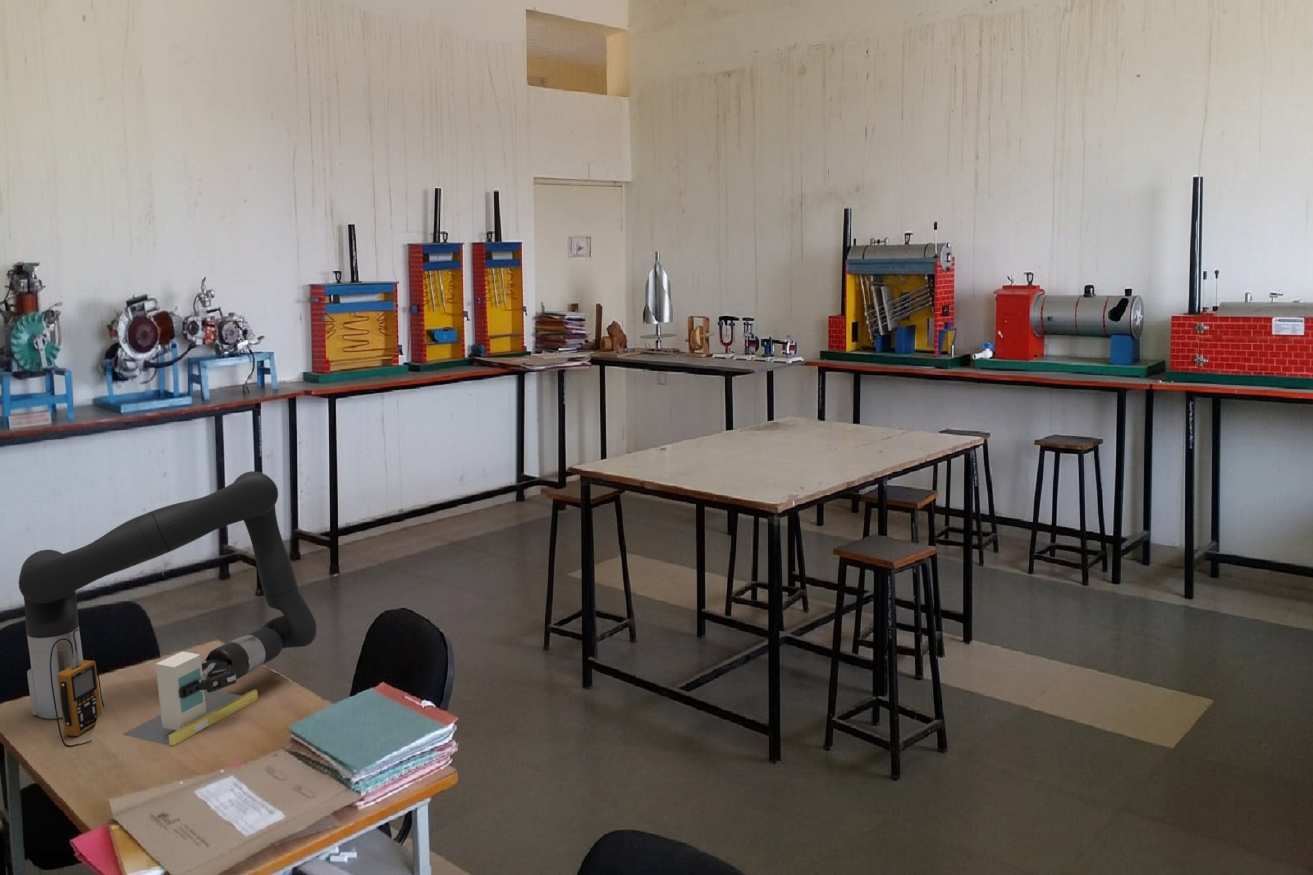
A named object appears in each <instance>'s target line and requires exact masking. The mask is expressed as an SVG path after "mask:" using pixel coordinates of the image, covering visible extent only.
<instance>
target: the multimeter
mask: <svg viewBox="0 0 1313 875" xmlns="http://www.w3.org/2000/svg"><path fill="white" fill-rule="evenodd" d="M78 630H79V631H83V632H85V633H86V634H87V635H88V637H89V640H90V651H91V658H92V660H88V659H87V660H86V659H83V660H82V661H79V658H78V651H77V645H76V640H75V632H76V631H78ZM73 637H74V642H75V649H76V662H75V659H74V653H73V647H72V643H71V642H70V641H69V640H68V639H60V640H67V641H68V642H69V643H70V644H71V649H72V666H71V667H69V668H67V669H65V670H63V671H61V672H59V673H58V675H57V677H58V685H59V693H60V701H61V708H62V716H63V717H62V721H63V722H62V723H63V728H64V735H66V736H72V737H80V736H82V734H83V733H85V732H86V731H88V730H89V729H91V728H92V727H94V726H96V725H97V721H98V718H99V717H100V716H102V709H101V708H102V707H104V708H105V704H104V701H103V695H102V688H101V687H102V686H101V682H100V676H99V675H100V674H99V672H98V670H97V666H96V665H97V664H96V661H95V656H94V650H93V642H92V637H91V634H90V633H89V631H87V629H83V628H79V629H77V630H75V631H74V633H73ZM60 640H58V641H60ZM58 641H56V642H55V643H54V645H53V647H52V649H51V654H50V677H51V686H52V693H53V699H54V706H55V712H56V717H57V718H56V721H57V728H58V731H59V736H60V740H61V743H62V744H63V745H64V746H65V747H68V748H70V747H71V748H72V747H76V746H78V745H83V744H84V745H85V744H87V743H90V742H92V741H93V738H89V739H86V740H83V741H80V742H78V743H75V744H72V745H71V744H70V745H69V744H67V743H65V740H64V739H63V738H64V737H63V734H62V730H61V727H60V721H59V718H58V714H57V708H56V702H55V696H54V689H53V681H52V668H51V661H52V652H53V648H54V646H55V644H56V643H57V642H58ZM100 699H101V700H100ZM101 705H102V707H101Z"/></svg>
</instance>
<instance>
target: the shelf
mask: <svg viewBox="0 0 1313 875" xmlns="http://www.w3.org/2000/svg"><path fill="white" fill-rule="evenodd" d="M204 693H205V703H206V713H207V715H205V716H203V717H202V718H200V719H198V720H196V721H194V722H192V723H190V724H189V725H187V726H185V727H183V728H181V729H179V730H172V729H168V728H163V727H162V719H161V714H159V715H157V716H155V717H152V718H151V719H150V720H147V721H145V722H144V723H141V724H140V725H137V726H136V727H133V728H131V729H130V730H128V731H126V732H124V733H122V736H127V737H131V738H135V739H140V740H145V741H148V742H153V743H158V744H162V745H165V746H166V745H167V746H171V747H175V746H176V745H178V744H179V743H182V742H183V741H185V740H187V739H188V738H191V737H192V736H194V735H196V734H197V733H199V732H202V731H203V730H205V729H206V728H208V727H210V726H212V725H215V724H216V723H218V722H219V721H222V720H223V719H226V717H227V718H228V716H230V715H232V714H234V713H235V712H238V711H239V710H241V709H243V708H245V707H246V706H248V705H250V704H253V702H256V701H257V700H259V697H258V696H259V695H258V689H252V690H251V691H248V692H246V693H245V694H243V695H239V694H235V693H229V692H225V691H224V692H223V691H221V690H216V691H213V692H207V690H205V691H204Z"/></svg>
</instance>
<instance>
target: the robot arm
mask: <svg viewBox="0 0 1313 875" xmlns="http://www.w3.org/2000/svg"><path fill="white" fill-rule="evenodd" d="M278 498H279V490H278V487H277V485H276V483H275V481H274V480H273V479H272V478H270V477H269V476H268V475H267V474H265V473H263V472H261V471H247V472H244V473H242V474H240V475H239V476H238V477H236V479H235V480H234V482H233V483H230V484H229V485H227V486H225V487H223V488H221V489H219V490H216V491H214V492H212V493H210V494H207V495H205V496H202V497H199V498H196V499H191V500H186V501H182V502H178V503H174V504H169V505H166V506H163V507H160V508H157V509H154V510H151V511H149V512H145V513H144V514H140V515H138V516H136V517H134V518H131V519H129V520H127V521H125V522H124V523H122V524H120V525H118V526H116V527H115V528H113V529H111V530H110V531H108V532H107V533H105V534H104V535H102V536H101V537H98V539H96V540H94V541H93V542H91V543H89V544H86V545H85V546H82V547H79V548H77V549H73V550H70V551H68V552H64V553H62V552H60V551H58V550H54V549H41V550H39V551H36V552H34V553H31V554H30V556H28V557H27V558H26V559H25V561H24V562H23V563H22V566H21V569H20V573H19V577H18V589H19V591H20V594H21V595H22V596H23V602H24V603H23V604H24V613H25V614H24V615H25V616H24V617H25V623H24V624H25V630H26V631H25V632H26V636H27V637H26V638H27V644H28V652H29V659H30V667H31V668H30V669H28V670H27V671H26V672H27V674H26V675H27V684H28V691H29V698H30V704H31V705H30V707H31V713H32V716H37V717H39V718H41V719H45V720H46V719H48V720H49V719H51V720H52V719H53V720H54V719H57V717H56V712H55V706H54V699H53V693H52V686H51V677H50V654H51V649H52V647H53V645H54V643H55V642H56V641H58V640H60V639H68V640H69V641H70V642H71V643H72V647H73V653H74V659H75V662H76V649H75V642H74V637H73V633H74V631H75V630H77V629H80V626H79V613H78V601H77V600H78V599H77V593H76V591H78V590H80V589H82V588H84V587H86V586H87V585H89V584H91V583H94V582H95V581H98V580H100V579H102V578H104V577H107V576H109V575H112V574H115V573H119V572H121V571H124V570H127V569H130V568H132V567H135V566H136V565H139V564H143V563H145V562H148V561H150V560H154V559H155V558H158V557H160V556H163V555H165V554H168V553H170V552H172V551H175V550H177V549H180V548H182V547H184V546H186V545H188V544H191V543H193V542H195V541H196V540H199V539H200V538H202V537H204V536H206V535H208V534H210V533H212V532H214V531H216V530H218V529H220V528H223V527H227V526H229V525H230V526H231V525H233V524H236V523H238V522H242V521H243V522H244V525H245V527H246V530H247V532H248V535H249V539H250V541H251V542H250V543H251V545H252V550H253V555H254V560H255V564H256V567H257V572H258V575H259V582H260V584H261V588H262V591H263V596H264V598H265V601H266V604H267V605H268V607H269V608H271V609H275V610H278V611H280V612H281V613H282V615H281V616H277V617H275V618H273V619H271V620H268V621H267V622H266V623H265V624H263V625H262V626H261V627H260V628H259V629H257V630H254V631H252V632H251V633H248V634H245V635H243V636H239V637H238V638H235V639H233V640H230V641H229V642H225V643H224V644H222V645H220V646H218V647H216V648H213V649H212V650H210V651H209V652H208V654H207V656H206V657H205V660H201V663H202V673H203V675H202V676H201V677H200V678H198V679H197V682H196V681H192V682H190V683H188V684H186V685H184V686H182V687H181V688H180V689H179V697H180V698H183V699H184V698H186V697H188V696H190V695H192V694H194V693H196V692H203V691H204V692H206V691H207V692H213V691H220V690H221V689H224V688H226V687H227V688H228V687H229V686H233V685H234V684H236V683H237V680H238V679H240V678H242V677H244V676H246V675H247V674H249V673H250V674H251V673H252V672H253V671H255V670H257V669H258V668H259V667H261V666H262V665H265V664H266V663H268V662H270V661H272V660H273V659H275V658H277V657H278V656H279V655H280V653H281V651H282V650H283V649H290V648H300V647H302V648H303V647H306V646H309V645H311V644H312V643H313V642H314V640H315V638H316V635H317V631H318V630H317V623H316V619H315V616H314V615H313V613H312V611H311V610H310V608H309V606H308V605H307V603H306V601H305V599H304V598H303V596H302V595H301V593H300V590H299V587H298V583H297V580H296V575H295V573H294V572H295V571H294V569H293V566H292V565H293V564H292V562H291V560H290V557H289V554H288V552H287V549H286V546H285V544H284V541H283V538H282V534H281V532H280V527H279V524H278V518H277V510H276V503H277V501H278ZM80 632H81V630H78V631H76V632H75V640H76V645H77V651H78V658H79V661H82V660H84V656H83V650H82V649H83V648H82V640H81V634H80ZM71 666H72V649H71V644H70V643H69V642H68V641H67V640H60V641H58V642H57V643H56V644H55V646H54V648H53V652H52V661H51V668H52V681H53V689H54V696H55V702H56V708H57V714H58V719H60V718H61V719H63V716H62V708H61V701H60V693H59V685H58V677H57V675H58V673H59V672H61V671H63V670H65V669H67V668H69V667H71Z"/></svg>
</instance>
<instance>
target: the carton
mask: <svg viewBox="0 0 1313 875" xmlns="http://www.w3.org/2000/svg"><path fill="white" fill-rule="evenodd" d="M201 662H202V655H201V654H197V653H193V652H187V651H182V650H181V651H180V652H178V653H176V654H173V655H172V656H170V657H167V658H165V659H163V660H160V661H159V662H156V663H155V671H156V680H157V688H158V689H157V690H158V699H159V708H160V715H161V719H162V727H163V728H168V729H172V730H179V729H181V728H183V727H185V726H187V725H189V724H190V723H192V722H194V721H196V720H198V719H200V718H202V717H203V716H205V715H207V713H206V703H205V693H204V692H205V691H203V692H196V693H194V694H192V695H190V696H188V697H186V698H184V699H183V698H180V697H179V689H180V688H181V687H182V686H184V685H186V684H188V683H190V682H192V681H196V682H197V679H198V678H200V677H201V676H202V675H203V673H202V663H201Z"/></svg>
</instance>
